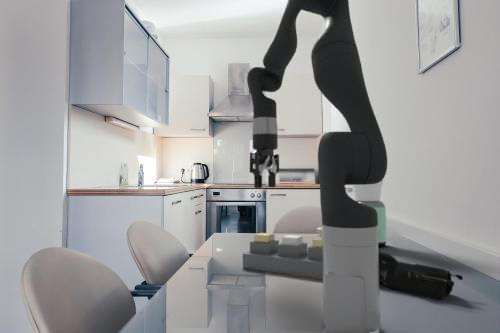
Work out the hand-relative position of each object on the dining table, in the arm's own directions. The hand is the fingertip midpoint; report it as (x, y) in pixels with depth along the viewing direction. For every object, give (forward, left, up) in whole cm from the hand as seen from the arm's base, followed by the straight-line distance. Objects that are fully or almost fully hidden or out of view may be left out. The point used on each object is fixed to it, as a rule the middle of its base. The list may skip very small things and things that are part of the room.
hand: (265, 187), depth 102 cm
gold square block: (0, 0, -17) cm, 17 cm away
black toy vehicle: (-4, -37, -23) cm, 44 cm away
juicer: (+46, -21, -23) cm, 55 cm away
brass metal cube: (0, -18, -17) cm, 25 cm away
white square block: (0, -9, -17) cm, 19 cm away
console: (0, -9, -23) cm, 25 cm away
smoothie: (+16, -14, -23) cm, 31 cm away
